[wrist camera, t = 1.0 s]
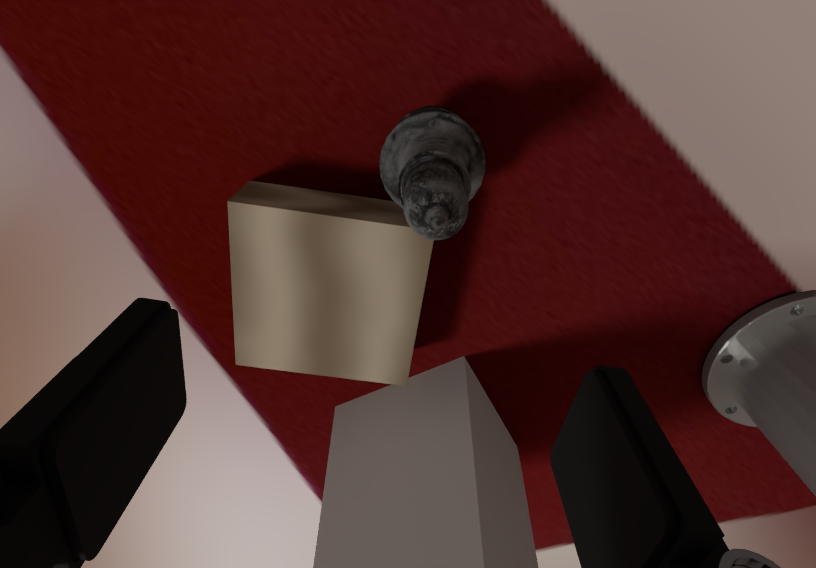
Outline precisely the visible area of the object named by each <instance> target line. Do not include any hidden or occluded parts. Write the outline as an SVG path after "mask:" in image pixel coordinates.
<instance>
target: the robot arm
mask: <svg viewBox="0 0 816 568" xmlns="http://www.w3.org/2000/svg"><path fill="white" fill-rule="evenodd" d="M702 385H703V390H704V392H705V394H706V396H707V398H708V399H709V401H710V402H711V403H712V405H713V406H714V407H715V409H716V410H717V411H718V412H719V413H720V414H721V415H723V416H724V417H726V418H728V419H730V420H732V421H733V422H736V423H739V424H743V425H746V426H754V427H758V428H759V429H760V430H761V432H762V433H763V434H764V435H765V436H766V438H767V439H768V440H769V441H770V442H771V444H772V445H773V446H774V447H775V448H776V449H777V451H778V452H779V453H780V454H781V455H782V457H783V458H784V459H785V460H786V461H787V463H788V464H789V465H790V466H791V467H792V469H793V470H794V471H795V472H796V473H797V475H798V476H799V477H800V478H801V479H802V481H803V482H804V483H805V484H806V485H807V486H808V488H809V489H810V490H811V491H812V492H813V494H814V495H815V496H816V290H811V291H805V292H799V293H794V294H790V295H787V296H784V297H781V298H778V299H774V300H772V301H770V302H768V303H766V304H764V305H761V306H759V307H757V308H755V309H754V310H752V311H750V312H749V313H747V314H746V315H744V316H742V317H741V318H740V319H738V320H737V321H736V322H735V323H734V324H732V325H731V326H730V327H729V328H728V329H727V330H726V331H725V332H724V333H723V334H722V335H721V336H720V337H719V338H718V340H717V341H716V342H715V344H714V345H713V347H712V348H711V350H710V351H709V353H708V355H707V358H706V360H705V363H704V365H703V371H702ZM185 407H186V389H185V379H184V369H183V359H182V348H181V338H180V328H179V318H178V312H177V311H176V310H175V309H171V306H170V304H169V303H168V302H166V301H160V300H153V299H147V298H138V299H136V300H135V301H134V302H133V303H132V304H131V305H130V306H129V307H128V308H127V309H126V310H125V311H123V312H122V313H121V314H120V315H119V316H118V317H117V318H116V319H115V320H114V321H113V322H112V323H111V324H110V325H109V326H108V327H107V328H106V329H105V330H104V331H103V332H102V333H101V334H100V335H99V336H98V337H97V338H96V339H94V341H92V342H91V343H90V344H89V345H88V346H87V347H86V348H85V349H84V350H83V351H82V352H81V353H80V354H79V355H78V356H76V357H75V358H74V359H72V361H71V362H69V363H68V364H67V365H66V366H65V367H64V368H63V369H62V370H61V371H60V372H59V373H58V374H57V375H56V376H55V377H54V378H53V379H52V380H51V381H50V382H49V383H48V384H47V385H46V386H44V387H43V388H42V389H41V390H40V391H39V392H38V393H37V394H36V395H35V396H34V397H33V398H32V399H31V400H30V401H29V402H28V403H27V404H26V405H25V406H24V407H23V408H22V409H21V410H20V411H19V412H17V413H16V414H15V415H14V416H13V417H12V418H11V419H10V420H9V421H8V422H7V423H6V424H5V425H4V426H3V427H2V428H1V429H0V568H81V566H82V564H83V563H84V561H85V560H87V561H90V560H92V559H94V558H95V557H96V556H97V554H98V553H99V551H100V550H101V548H102V546H103V545H104V543H105V542H106V540H107V538H108V537H109V535H110V533H111V532H112V530H113V528H114V527H115V525H116V524H117V522H118V520H119V518H120V517H121V515H122V514H123V512H124V510H125V509H126V507H127V506H128V504H129V502H130V501H131V499H132V497H133V496H134V494H135V492H136V491H137V489H138V487H139V486H140V484H141V483H142V481H143V479H144V478H145V476H146V474H147V472H148V471H149V469H150V467H151V466H152V464H153V463H154V461H155V459H156V458H157V456H158V455H159V453H160V451H161V450H162V448H163V446H164V445H165V443H166V442H167V440H168V438H169V437H170V435H171V433H172V432H173V430H174V428H175V427H176V425H177V423H178V422H179V420H180V419H181V417H182V415H183V413H184V410H185ZM550 460H551V466H552V469H553V473H554V476H555V480H556V483H557V486H558V490H559V493H560V496H561V500H562V503H563V507H564V510H565V513H566V517H567V520H568V523H569V527H570V530H571V534H572V537H573V540H574V544H575V547H576V551H577V554H578V557H579V561H580V564H581V567H582V568H781V567H779V566H778V565H777V564H775V563H774V562H773V561H771V560H769V559H767V558H765V557H764V556H762V555H760V554H758V553H755V552H752V551H749V550H745V549H732V550H729V549H728V547H727V545H726V544H725V542H724V540H723V539H722V538H723V537H724V534H723V532H722V531H721V529H720V527H719V525H718V524H717V522H716V520H715V519H714V517H713V515H712V513H711V512H710V510H709V508H708V507H707V505H706V503H705V502H704V500H703V498H702V497H701V495H700V493H699V492H698V490H697V488H696V487H695V485H694V483H693V481H692V480H691V478H690V476H689V475H688V473H687V471H686V470H685V468H684V466H683V465H682V463H681V461H680V460H679V458H678V456H677V455H676V453H675V451H674V450H673V448H672V446H671V444H670V443H669V441H668V439H667V438H666V436H665V434H664V433H663V431H662V429H661V428H660V426H659V424H658V423H657V421H656V419H655V418H654V416H653V414H652V412H651V411H650V409H649V407H648V406H647V404H646V402H645V401H644V399H643V397H642V396H641V394H640V392H639V391H638V389H637V387H636V386H635V384H634V382H633V380H632V379H631V377H630V375H629V374H628V372H627V371H626V370H625V369H623V368H617V367H610V366H603V365H598V366H596V367H595V368H594V370H589V371H587V373H586V374H585V376H584V379H583V381H582V383H581V385H580V387H579V390H578V392H577V394H576V396H575V398H574V401H573V403H572V405H571V407H570V409H569V412H568V414H567V416H566V418H565V420H564V423H563V425H562V427H561V429H560V431H559V434H558V436H557V438H556V440H555V442H554V445H553V447H552V450H551V455H550Z"/></svg>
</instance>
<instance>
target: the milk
mask: <svg viewBox="0 0 816 568" xmlns="http://www.w3.org/2000/svg"><path fill="white" fill-rule="evenodd" d="M313 568H538V563H537V558H536V551H535V546H534V540H533V534H532V528H531V522H530V517H529V511H528V505H527V499H526V493H525V488H524V482H523V476H522V470H521V464H520V459H519V453H518V447H517V446H516V444H515V442H514V440H513V439H512V437H511V435H510V434H509V432H508V430H507V429H506V427H505V425H504V423H503V422H502V420H501V418H500V417H499V415H498V413H497V411H496V410H495V408H494V406H493V405H492V403H491V401H490V399H489V398H488V396H487V394H486V393H485V391H484V389H483V388H482V386H481V384H480V382H479V381H478V379H477V377H476V376H475V374H474V372H473V370H472V369H471V367H470V365H469V364H468V362H467V360H466V359H465V357H464V356H463V357H461V358H458V359H456V360H453V361H451V362H448V363H446V364H443V365H440V366H438V367H435V368H433V369H430V370H428V371H425V372H423V373H420V374H418V375H415V376H412V377H410V378H408V380H407V386H402V385H394V384H392V385H389V386H387V387H384V388H382V389H379V390H377V391H374V392H372V393H369V394H367V395H364V396H361V397H359V398H356V399H354V400H351V401H349V402H346V403H344V404H341V405H338V406H336V407H335V414H334V421H333V428H332V435H331V443H330V450H329V457H328V465H327V472H326V479H325V486H324V494H323V501H322V509H321V516H320V523H319V530H318V537H317V545H316V552H315V559H314V567H313Z"/></svg>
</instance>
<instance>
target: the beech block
mask: <svg viewBox="0 0 816 568" xmlns="http://www.w3.org/2000/svg"><path fill="white" fill-rule="evenodd" d="M228 220H229V240H230V259H231V279H232V299H233V319H234V338H235V358H236V365H242V366H250V367H258V368H266V369H274V370H282V371H290V372H298V373H306V374H314V375H322V376H330V377H338V378H346V379H354V380H362V381H370V382H378V383H386V384H394V385H402V386H407V380H408V375H409V370H410V364H411V359H412V354H413V348H414V343H415V338H416V332H417V327H418V322H419V316H420V311H421V306H422V300H423V295H424V289H425V284H426V279H427V273H428V268H429V263H430V257H431V252H432V247H433V241H434V240H430V239H425V238H423V237H421V236H419V235H418V234H417V233H415V232H414V231H413V230H412V229H411V227H410V226H409V224H408V223H407V221H406V218H405V215H404V209H403V208H401V207H400V206H399V205H398V204H397V203H396V202H394V201H388V200H381V199H374V198H367V197H360V196H354V195H347V194H340V193H333V192H326V191H319V190H312V189H305V188H298V187H292V186H285V185H278V184H271V183H264V182H257V181H249V182H248V183H247V184H246V185H245V186H243V187H242V188H241V189H240V190H239V191H238V192H237V193H236V194H235V195H234V196H233V197H232V198H230V199H229V200H228Z"/></svg>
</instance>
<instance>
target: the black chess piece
mask: <svg viewBox="0 0 816 568" xmlns="http://www.w3.org/2000/svg"><path fill="white" fill-rule="evenodd" d="M379 165H380V176H381V179H382V182H383V185H384V187H385V190H386V191H387V193H388V194H389V195H390V197H391V198H392V200H393V201H394V202H396V203H397V204H398V205H399V206H400V207H401V208H403V209H404V215H405V218H406V221H407V223H408V224H409V226H410V227H411V229H412V230H413V231H414V232H415V233H417V234H418V235H419V236H421V237H423V238H425V239H430V240H443V239H447V238H450V237H451V236H453V235H455V234H456V233H457V232H458V231H459V230H460V229H461V228H462V226H463V225H464V223H465V221H466V218H467V215H468V202H469V201H470V200H471V199H472V198H473V197H474V196H475V194H476V192H477V191H478V189H479V187H480V186H481V184H482V180H483V177H484V173H485V153H484V149H483V145H482V143H481V141H480V139H479V137H478V136H477V134H476V132H475V131H474V130H473V129H472V128H471V127H470V126H469V125H468V124H467V123H466V122H465V121H464V120H462V119H461V118H460V117H459V116H458V115H457V114H455V113H453V112H451V111H449V110H447V109H444V108H440V107H423V108H420V109H417V110H414V111H412V112H410V113H409V114H408V115H406V116H405V117H403V118H402V119H401V121H400V122H399V123H398V124H397V125H396V127H395V128H394V129H393V130H392V132H391V133H390V134H389V135H388V137H387V139H386V141H385V143H384V145H383V147H382V150H381V156H380V162H379Z"/></svg>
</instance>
